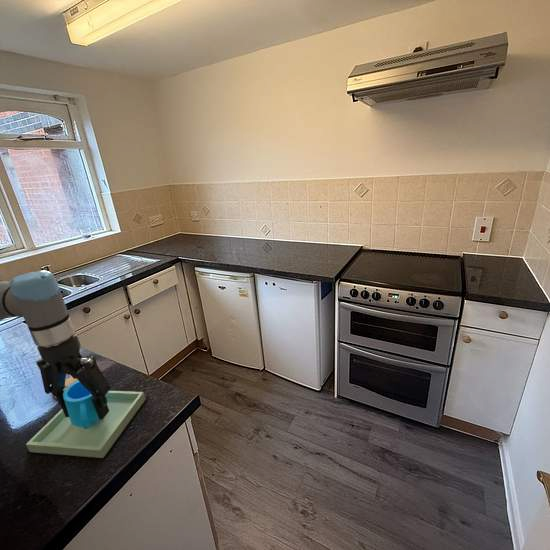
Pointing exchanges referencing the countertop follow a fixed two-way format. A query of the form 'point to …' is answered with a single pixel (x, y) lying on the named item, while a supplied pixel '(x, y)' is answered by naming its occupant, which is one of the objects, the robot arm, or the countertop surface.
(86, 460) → the countertop surface
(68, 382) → the coaster
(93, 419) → the mug
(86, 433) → the tray
